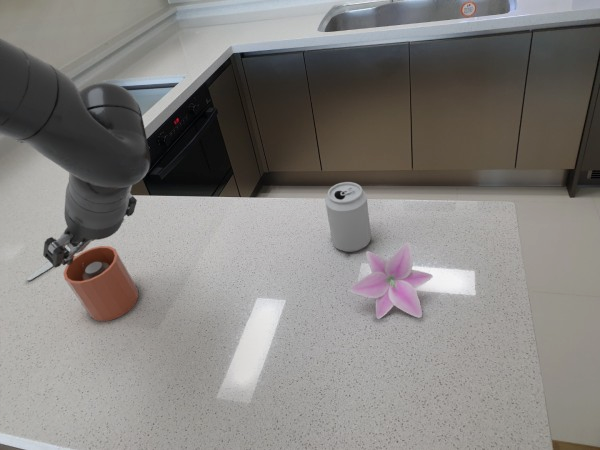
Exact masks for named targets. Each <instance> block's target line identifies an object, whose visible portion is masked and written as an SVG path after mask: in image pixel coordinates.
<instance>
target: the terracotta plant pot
mask: <svg viewBox="0 0 600 450" xmlns="http://www.w3.org/2000/svg"><path fill="white" fill-rule="evenodd" d="M94 262H105V263H108V264H109V268H108V269H106V270H105V271H104V272H102V273H101V274H100V275H98V276H96V277H93V278H91V279H88V280H84V279H83V273H84V272H85V269H86V267H87V266H88V265H90V264H91V263H94ZM63 277H64V281H65V282H66V283H67V285H68V286H69V288H70V289H71V291H72V292H73V294H74V295H75V296H76V298H77V299H78V301H79V302H80V304H81V305H82V306H83V308H84V310H85V311H86V313H87V314H88V316H90V317H91V319H93V320H95V321H97V322H109V321H112V320H116V319H118V318H119V317H120V318H121V317H122V316H123V315H125V314H127V313H128V312H129V311H130V310H132V309H133V307H134V306H135V305H136V303H137V302H138V299H139V294H140V293H139V289H138V287H137V284H136V283H135V282H134V279H133V278H132V276H131V274H130V273H129V271H128V269H127V267H126V265H125V263H124V262H123V260H122V258H121V257H120V255H119V252H118V251H117V250H116V248H114V247H112V246H109V245H99V246H96V247H91V248H88V249H86V250H85V251H84V250H83V251H81V252H79V254H77V255H74V257H73V263H72V264H70V265H67V264H66V266H65V268H64V271H63Z"/></svg>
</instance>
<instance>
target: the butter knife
mask: <svg viewBox="0 0 600 450" xmlns="http://www.w3.org/2000/svg"><path fill="white" fill-rule="evenodd" d="M78 243H79V244H80V242H78ZM65 248H66V249H67V250H68V251H69V252H70V248H69V247H68V246H67V245H66V246H65ZM53 267H54V266H53V265H52V263H51V262H50V261H49V260H47V262H46V263H44V264H43V265H42V266H41V267H39V268H38V269H36V271H35V272H33V273H32V274H31V275H29V276H28V277H27V278H26V281H32V280H34V279H35V278H36V277H39V276H40V275H42V274H43V273H45V272H46V271H49V269H51V268H53Z"/></svg>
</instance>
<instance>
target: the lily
mask: <svg viewBox="0 0 600 450" xmlns="http://www.w3.org/2000/svg"><path fill="white" fill-rule="evenodd" d="M365 256H366V259H367V263H368V267H369V269H370V271H371V273H369V274H367V275H366V276H364V277H362V278H361V279H359V280H357V281H356V282H354V283H353V284H352V285H350V286H349V288H348V291H349V292H350V293H352V294H355V295H358V296H361V297H365V298H370V299H375V316H376V319H377V320H380V319H381V318H383V317H384V316H385V315H386V314H387V313H389V312H390V310H392V308H393V307H394V306H395V307H396V308H398V310H401V311H403V312H404V313H407V314H408V315H410V316H412V317H415V318H419V319H420V318H422V317H423V309H422V305H421V302H420V298H419V296H418V293H417V291H416V289H417V288H419V287H422V286H423V285H425V284H426V283H427V282H429V281H431V280H432V279H433V277H434V276H433V274H431V273H429V272H424V271H421V270H416V269H413V259H414V258H413V246H412V243H411V242H410V241H406V242H404V243H403V244H402V245H401V246H400V247H398V249H396V251H395V252H394V253H393V254H392V255H391V256H390V257H388V259H385V258H384V257H382V256H380V255H379V254H376V253H374V252H373V251H370V250H366V252H365Z"/></svg>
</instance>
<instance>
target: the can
mask: <svg viewBox="0 0 600 450" xmlns="http://www.w3.org/2000/svg"><path fill="white" fill-rule="evenodd" d="M324 200H325V209H326V213H327V219H328V225H329V231H330V237H331V242H332V245H333V246H334V247H335V248H336V249H337V250H341V251H343V252H347V253H352V252H358V251H361V250H362V249H363V248H365V247H367V246H368V245H369V243H370V242H371V238H372V233H371V224H370V223H371V222H370V215H369V206H368V205H369V204H368V197H367V193H366V192H365V191H364V190H363V187H362V186H361V185H360V184H358V183H356V182H352V181H344V182H339V183H336V184H334V185H332V186H331V187H330V188H329V189H328V191H327V195H326V197H325V199H324Z"/></svg>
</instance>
